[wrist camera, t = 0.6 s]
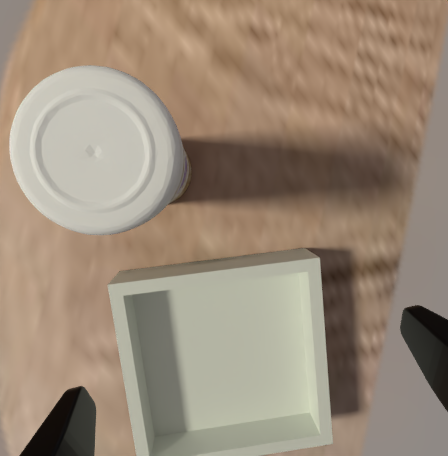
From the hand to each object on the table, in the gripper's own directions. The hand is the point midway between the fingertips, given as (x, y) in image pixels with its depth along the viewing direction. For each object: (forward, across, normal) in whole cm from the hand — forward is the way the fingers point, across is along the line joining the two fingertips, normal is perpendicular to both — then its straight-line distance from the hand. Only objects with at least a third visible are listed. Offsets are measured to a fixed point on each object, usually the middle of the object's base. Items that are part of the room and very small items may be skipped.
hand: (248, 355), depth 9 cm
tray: (+10, +1, +12) cm, 16 cm away
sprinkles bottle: (+16, +3, 0) cm, 16 cm away
